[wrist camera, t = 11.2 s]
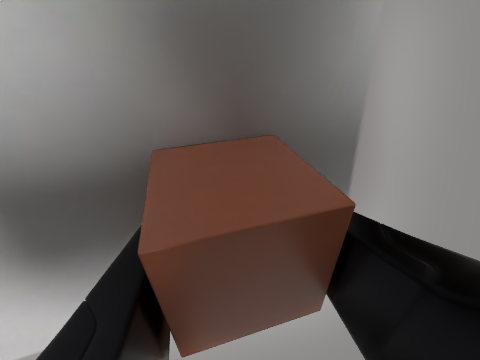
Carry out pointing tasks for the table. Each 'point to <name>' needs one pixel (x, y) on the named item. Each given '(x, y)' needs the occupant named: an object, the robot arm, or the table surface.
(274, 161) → the block
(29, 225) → the table surface
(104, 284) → the robot arm
